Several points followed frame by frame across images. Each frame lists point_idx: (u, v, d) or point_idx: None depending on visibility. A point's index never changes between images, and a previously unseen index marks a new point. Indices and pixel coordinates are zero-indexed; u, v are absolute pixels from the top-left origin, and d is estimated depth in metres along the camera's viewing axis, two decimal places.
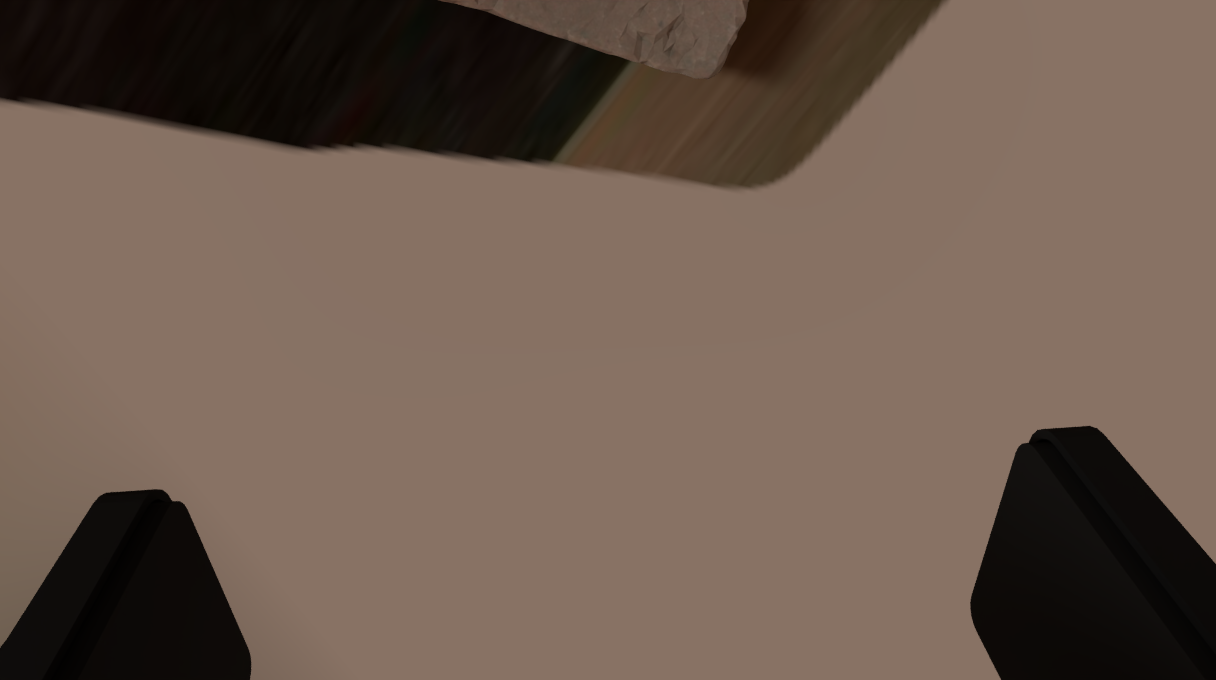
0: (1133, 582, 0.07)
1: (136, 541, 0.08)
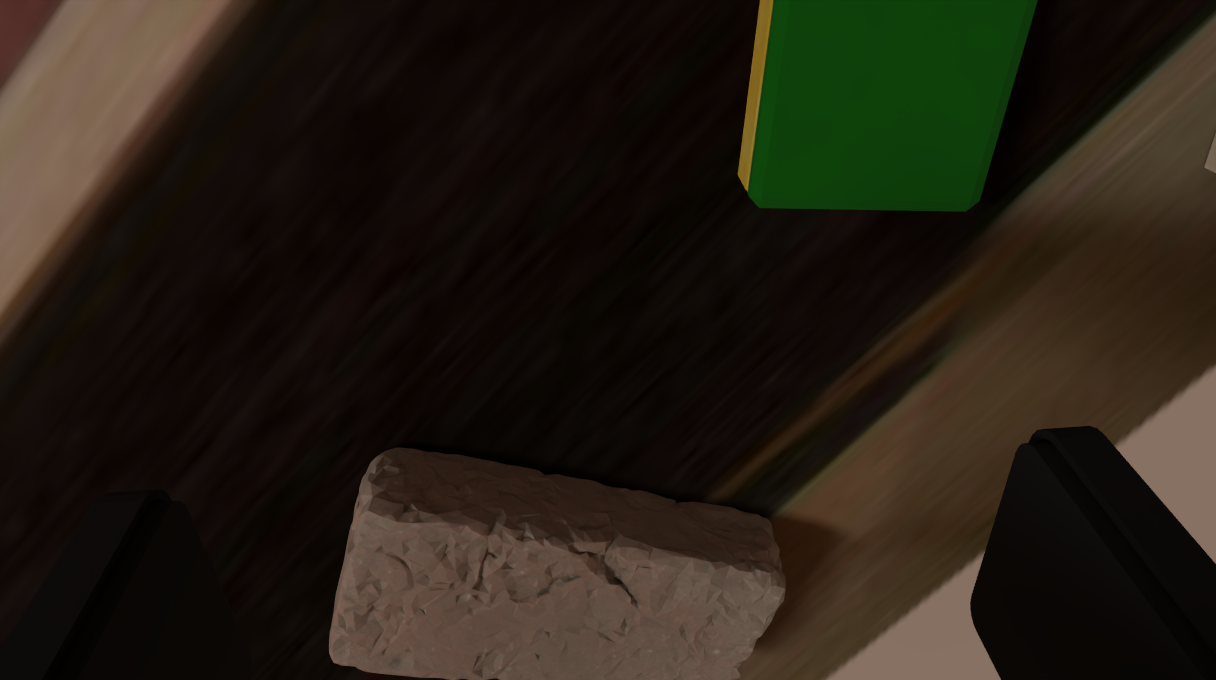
0: (1133, 582, 0.07)
1: (136, 541, 0.08)
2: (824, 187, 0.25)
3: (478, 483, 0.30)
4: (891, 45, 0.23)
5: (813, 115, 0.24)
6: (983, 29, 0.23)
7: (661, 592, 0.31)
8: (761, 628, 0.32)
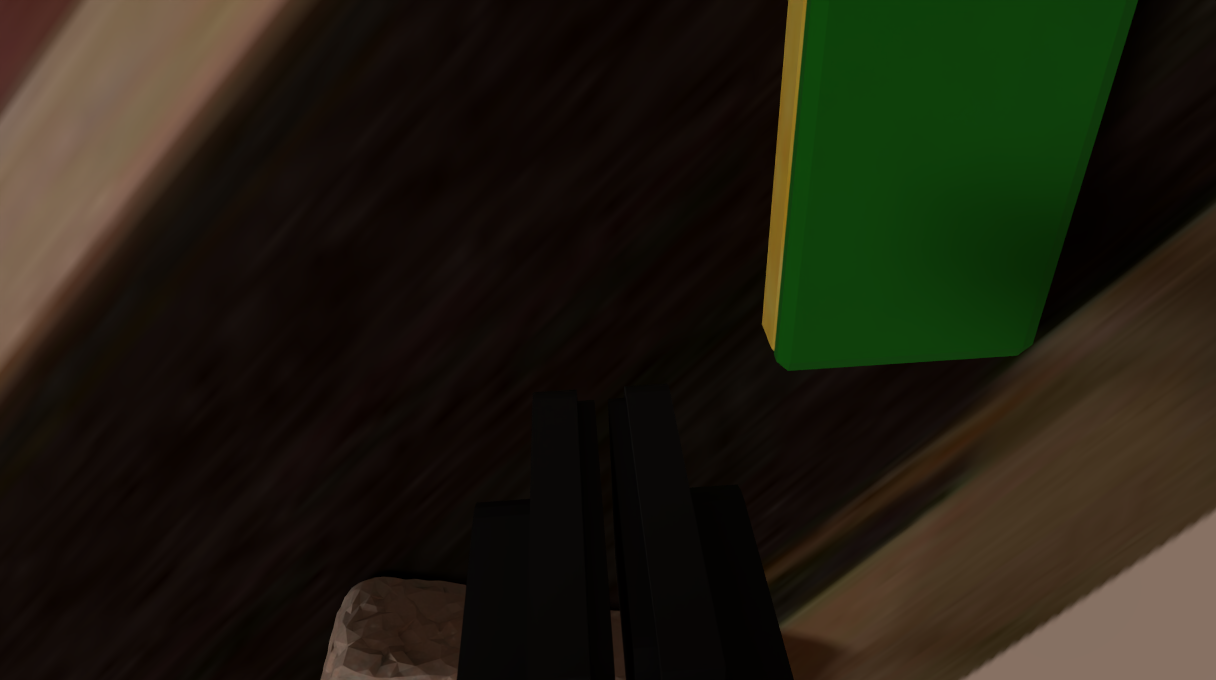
0: (623, 514, 0.08)
1: (584, 428, 0.09)
2: (858, 347, 0.23)
3: (462, 620, 0.28)
4: (927, 206, 0.20)
5: (843, 280, 0.21)
6: (1031, 180, 0.20)
7: None
8: None
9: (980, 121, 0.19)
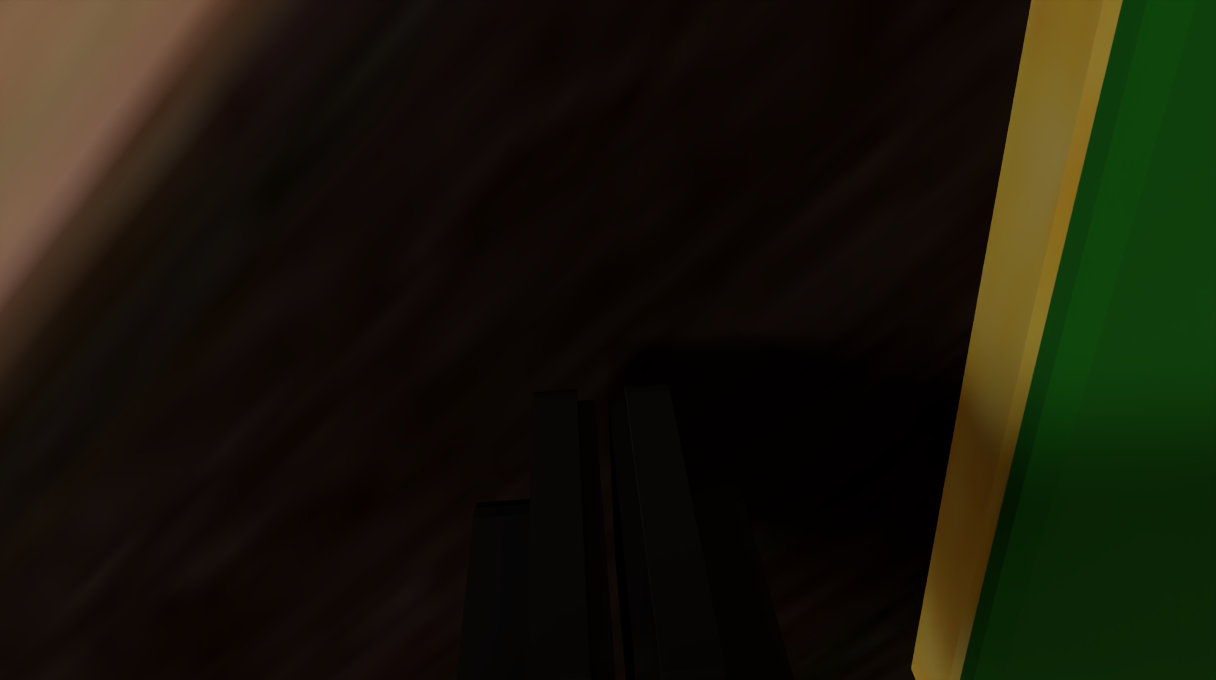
0: (623, 514, 0.08)
1: (585, 429, 0.09)
2: None
3: None
4: None
5: (1076, 673, 0.12)
6: None
7: None
8: None
9: None
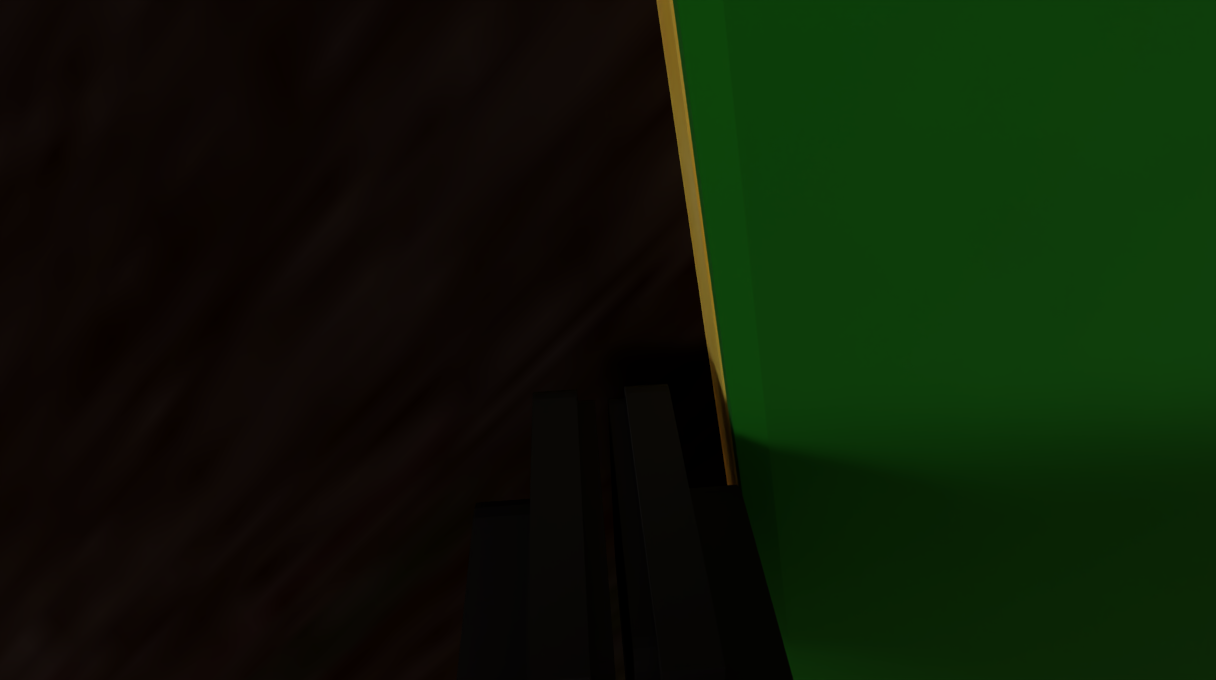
0: (623, 514, 0.08)
1: (585, 428, 0.09)
2: None
3: None
4: (1014, 589, 0.11)
5: None
6: None
7: None
8: None
9: (1106, 462, 0.10)
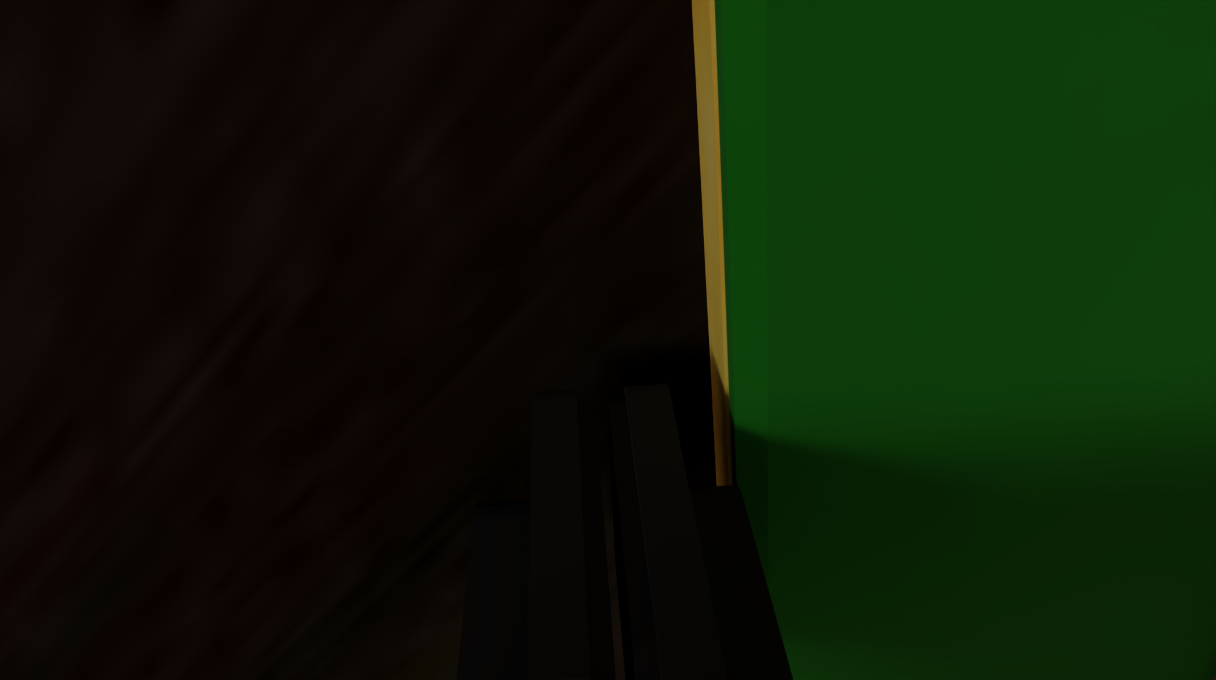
0: (623, 514, 0.08)
1: (585, 429, 0.09)
2: None
3: None
4: (996, 576, 0.11)
5: None
6: (1197, 526, 0.10)
7: None
8: None
9: (1097, 448, 0.10)
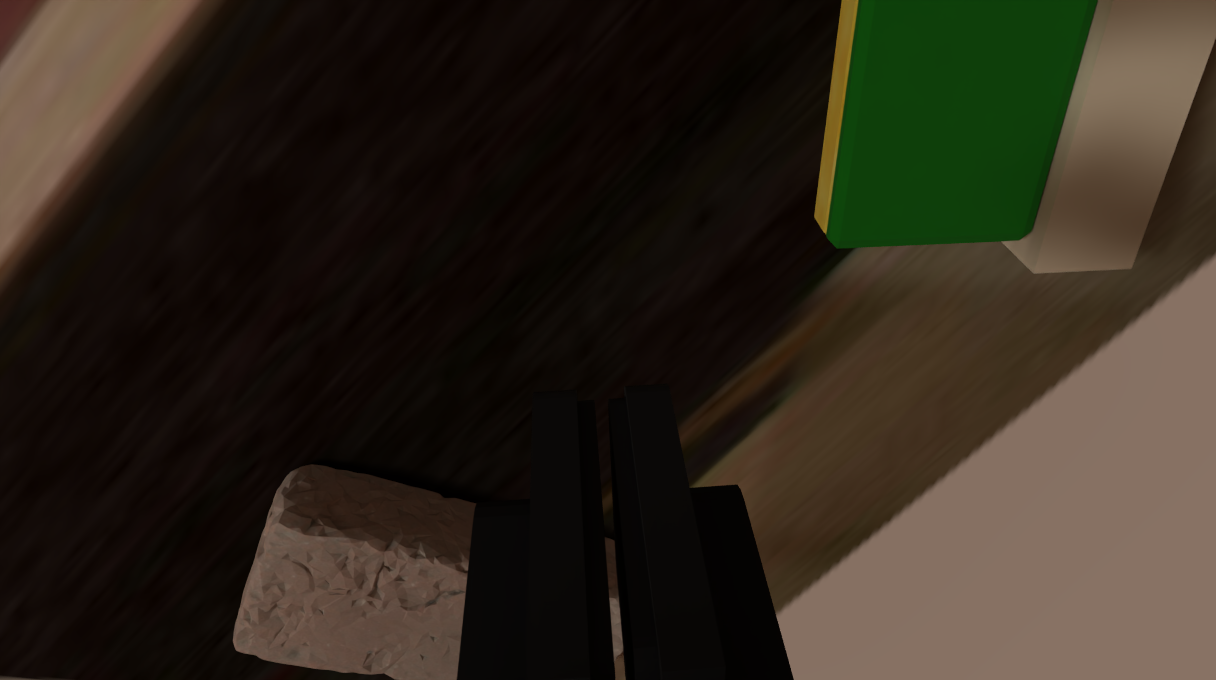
0: (623, 514, 0.08)
1: (584, 429, 0.09)
2: (894, 228, 0.28)
3: (381, 503, 0.34)
4: (951, 107, 0.26)
5: (884, 169, 0.27)
6: (1032, 89, 0.26)
7: None
8: (621, 647, 0.37)
9: (994, 39, 0.25)
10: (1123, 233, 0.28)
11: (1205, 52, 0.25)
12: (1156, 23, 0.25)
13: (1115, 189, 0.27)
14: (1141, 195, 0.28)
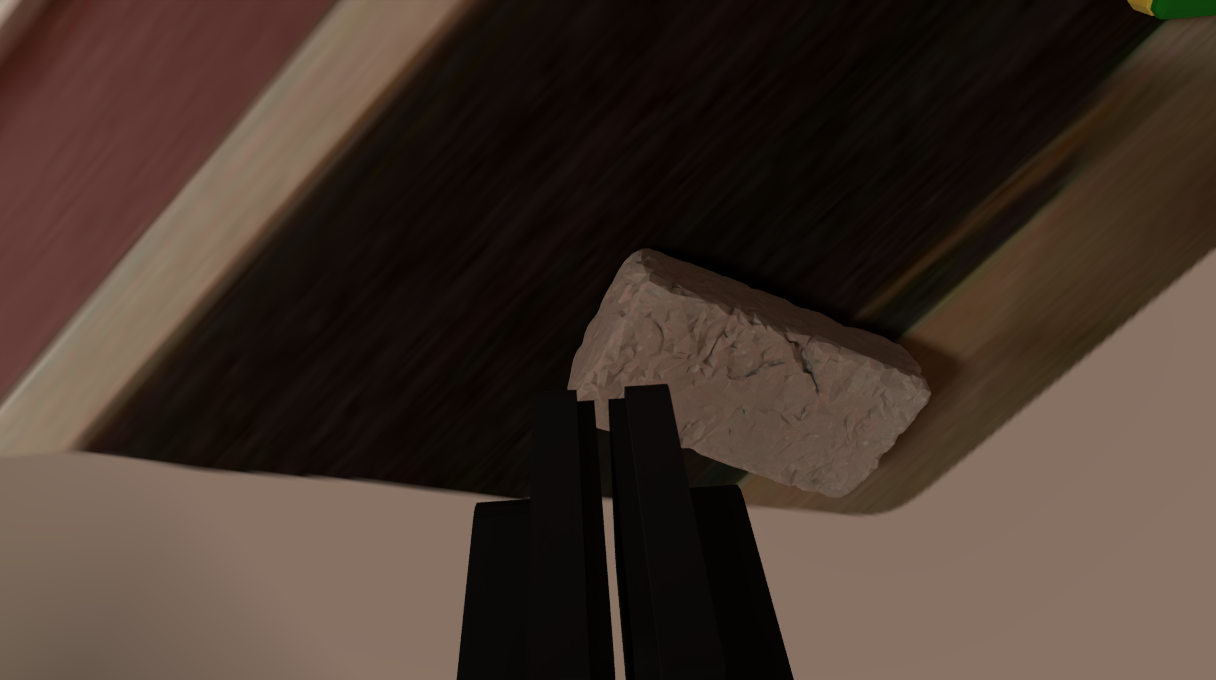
0: (623, 514, 0.08)
1: (585, 429, 0.09)
2: None
3: (712, 282, 0.39)
4: None
5: None
6: None
7: (840, 383, 0.40)
8: (905, 425, 0.41)
9: None
10: None
11: None
12: None
13: None
14: None
